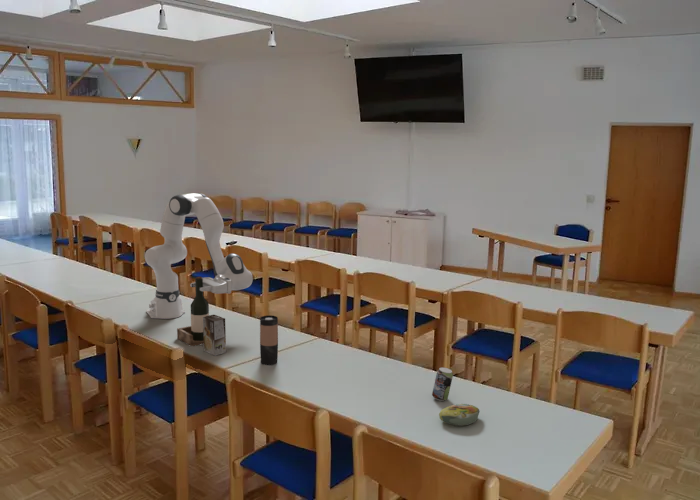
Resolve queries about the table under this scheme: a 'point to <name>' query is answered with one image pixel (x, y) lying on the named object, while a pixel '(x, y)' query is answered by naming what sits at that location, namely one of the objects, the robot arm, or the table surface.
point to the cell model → (459, 414)
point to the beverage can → (442, 384)
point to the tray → (187, 336)
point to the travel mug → (269, 339)
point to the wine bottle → (198, 311)
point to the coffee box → (214, 334)
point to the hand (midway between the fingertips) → (195, 287)
